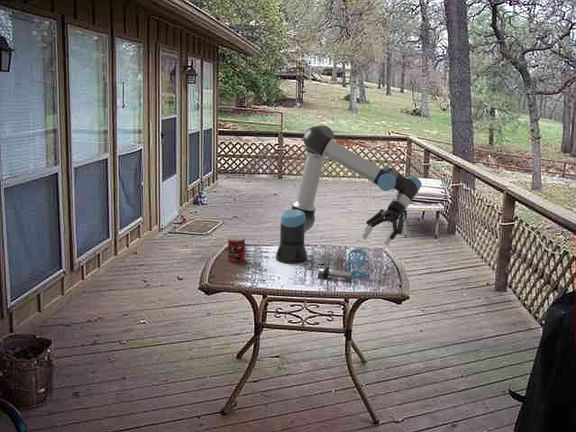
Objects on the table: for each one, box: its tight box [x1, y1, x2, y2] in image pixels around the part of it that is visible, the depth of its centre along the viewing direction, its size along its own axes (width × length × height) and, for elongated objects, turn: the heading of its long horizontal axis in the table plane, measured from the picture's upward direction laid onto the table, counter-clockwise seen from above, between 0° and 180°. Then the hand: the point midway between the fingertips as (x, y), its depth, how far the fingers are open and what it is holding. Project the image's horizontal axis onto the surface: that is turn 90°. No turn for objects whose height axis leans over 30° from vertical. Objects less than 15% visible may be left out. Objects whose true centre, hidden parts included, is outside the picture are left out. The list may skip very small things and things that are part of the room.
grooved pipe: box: [317, 266, 353, 283], centre depth 272 cm, size 14×5×5 cm, turn 74°
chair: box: [346, 248, 369, 280], centre depth 277 cm, size 8×8×12 cm
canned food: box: [227, 235, 246, 263], centre depth 294 cm, size 8×8×11 cm
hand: (374, 240), depth 281 cm, fingers open, 13 cm apart
